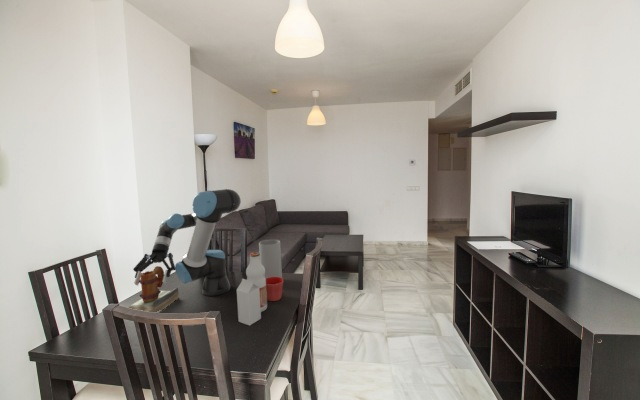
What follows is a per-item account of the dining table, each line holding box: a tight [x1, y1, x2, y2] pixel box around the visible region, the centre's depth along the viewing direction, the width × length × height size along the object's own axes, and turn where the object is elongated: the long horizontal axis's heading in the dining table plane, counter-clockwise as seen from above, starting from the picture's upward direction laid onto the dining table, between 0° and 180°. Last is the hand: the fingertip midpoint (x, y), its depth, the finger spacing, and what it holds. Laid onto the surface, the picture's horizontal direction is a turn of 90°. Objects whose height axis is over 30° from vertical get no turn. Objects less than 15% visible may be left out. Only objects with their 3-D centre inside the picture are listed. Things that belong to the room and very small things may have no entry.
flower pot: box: [266, 277, 284, 302], centre depth 154 cm, size 11×11×10 cm
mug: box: [138, 265, 165, 302], centre depth 148 cm, size 15×8×15 cm, turn 170°
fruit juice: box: [245, 251, 268, 313], centre depth 141 cm, size 9×9×28 cm
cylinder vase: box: [258, 239, 283, 279], centre depth 173 cm, size 12×12×25 cm
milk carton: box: [236, 278, 262, 326], centre depth 131 cm, size 7×7×19 cm
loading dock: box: [128, 287, 180, 312], centre depth 149 cm, size 14×18×6 cm
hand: (150, 283), depth 146 cm, fingers open, 13 cm apart
